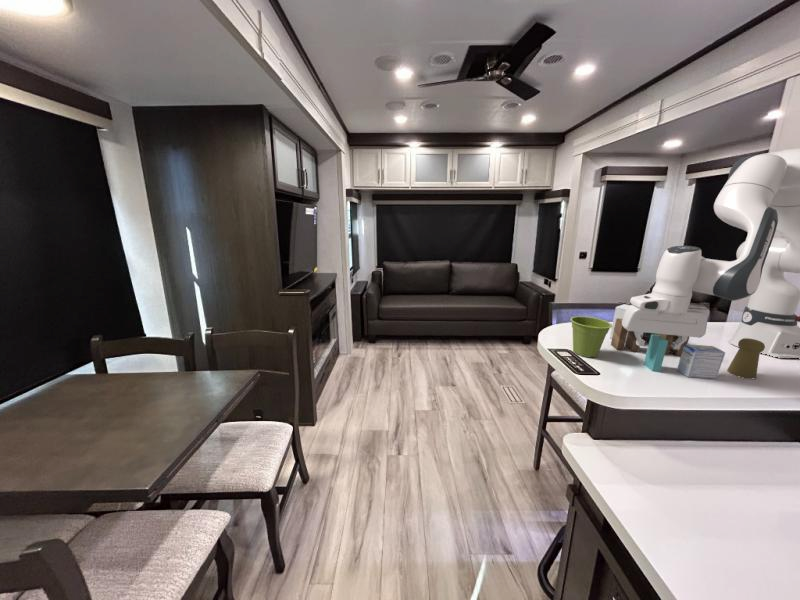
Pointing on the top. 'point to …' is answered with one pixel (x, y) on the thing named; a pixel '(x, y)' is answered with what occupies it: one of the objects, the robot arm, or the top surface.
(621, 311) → the supplement box
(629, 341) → the domino
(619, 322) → the domino
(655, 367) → the domino
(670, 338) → the domino
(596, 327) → the plant pot
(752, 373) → the cork
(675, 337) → the domino
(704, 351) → the medicine box
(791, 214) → the robot arm
